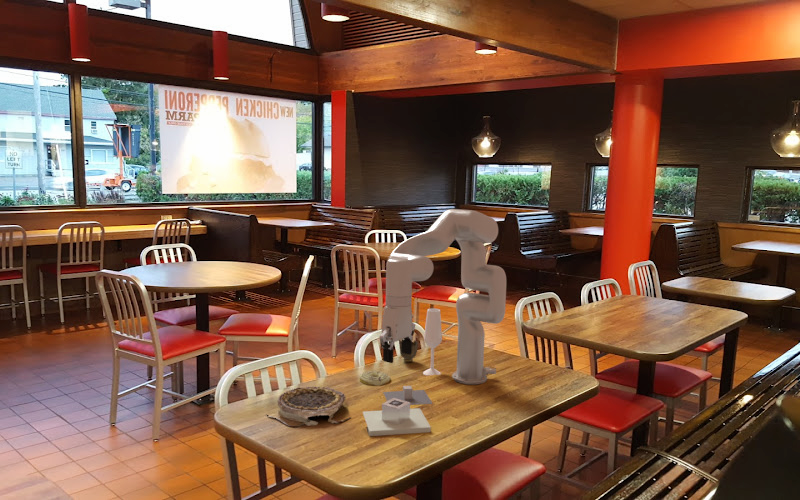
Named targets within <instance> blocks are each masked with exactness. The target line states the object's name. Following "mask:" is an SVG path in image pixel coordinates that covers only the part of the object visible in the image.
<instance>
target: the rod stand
mask: <svg viewBox="0 0 800 500" xmlns="http://www.w3.org/2000/svg"><path fill="white" fill-rule="evenodd" d="M382 393H383V395H384V397H385V400H386V402H387V401H389V400H390V399H392V398H396V399H400V400H403V401H407V402H410V406H415V405H416V406H418V405H432V404H433V402H432V399H430V397H429V396H428V393H426V391H425V389H417V390H416V389H415V390H413V387H412V385H403V386H402V390H398V391H382Z"/></svg>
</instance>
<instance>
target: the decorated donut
mask: <svg viewBox="0 0 800 500" xmlns="http://www.w3.org/2000/svg"><path fill="white" fill-rule="evenodd" d="M390 381H391V376H390V375H389V374H388V373H385V372H382V371H377V370H369V371H365V372H363V373H362V374H360V375H359V382H360V383H362V384H364V385H369V386H376V387H377V386H378V387H379V386H383V385H387V384H388V383H390Z"/></svg>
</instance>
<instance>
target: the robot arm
mask: <svg viewBox="0 0 800 500" xmlns="http://www.w3.org/2000/svg"><path fill="white" fill-rule="evenodd" d="M498 235H499V226H498V223H497V221H496V220H495V219H494V218H493V217H491V216H488V215H486V214H484V213H482V212H479V211H477V210H471V209H470V210H469V209H460V208H459V209H458V208H451V209H447V210H445V211H443V212H442V213H441V215H439V216H438V218H436V220H435V221H434V222H433V223H432V224H431V226H429V228H428V229H427V230H426V231H425V232H421V233H419V234H417V235H414V236H412V237H410V238H408V239H405V240H404V241H402V242H401V243H399V244H398V245H397V246H396V247H395V249H394V250H392V252H391V254H390V255H389V256H388V258H387V260H386V267H385V268H386V269H385V270H386V271H385V306H384V307H383V309H384V310H383V315H382V322H381V334H380V335H379V337H378V338H379V339H378V340H379V341H380V345H381V348H382V349H383V350H382V351H383V352H382V361H383V362H385V363H389V364H393V363H394V349H393V348H394V347H393V346H394V345H395V343H396V342H398V341H399V342H400V341H402V353H405V354H411V353H412V342H413V341H414V334H415V328H416V324H415V323H414V322H413V309H412V305H413V304H412V302H413V301H412V300H413V299H412V296H413V294H412V292H413V291H412V290H413V289H412V288H413V282H424V281H427V280H428V279H429V278H430V277H431V276H432V275H433V272H434V263H433V261H432V260H431V259H430V258H429V257H427V256H433V255H437V254H442V253H443V252H445V251H447V249H448V248H449V247H450V246H451V245H452V243H453V242H454V241H456V242H457V243H458V245H459V248H460V251H461V267H460V268H461V269H460V271H461V272H460V273H461V274H460V278H461V279H460V281H461V284H462V285H461V286H462V287H463V288H465V289H467V290H471V291H478V292H482V293H476V292H464V293H462V294H460V295H459V296H458V297H457V299H456V303H455V308H456V315H457V326H458V327H457V353H456V355H457V356H456V371H454V372H453V373H452V376H451V377H452V379H453V380H454V381H455V382H457V383H459V384H463V385H481V384H484V383H486V382H487V381H488V375H496V374H497V369H496V368H491V367H490V366H487V367H485V366H484V360H485V359H484V357H485V356H484V355H485V353H484V352H485V329H484V326H483V324H482V323H488V324H495V325H496V324H500V323H501V322H502V321H503V319H505V318H504V317H505V316H506V315H505V314H506V306H507V305H506V303H507V275H506V272H505V270H504V268H502V267H501V266H499V265H493V264H487V259H486V257H487V252H486V251H487V249H486V246H485V244H491V243H493V242H494V241H495V240H496V239H497V237H498ZM483 292H484V293H488V294H483ZM389 342H390V343H389Z"/></svg>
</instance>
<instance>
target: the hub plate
mask: <svg viewBox="0 0 800 500" xmlns="http://www.w3.org/2000/svg"><path fill="white" fill-rule="evenodd" d="M392 405H395V406H399V405H400V403H399V402H393V403H392ZM362 415H363V417H364V420H365V424H366V427H365V428H366V431H367V434H368V436H369V437H379V436H391V435H392V436H394V435H405V434H407V435H408V434H420V433H421V434H422V433H424V434H425V433H431V430H432V427H431V425H430V423H429V422H428V420H427V418H426V416H425V415H424V413H423V411H422V409H421V407H418V408H416V407H415V408H410V419H408V420H406V421H405V422H403V423H401V424H400V425H396V424H393V423H390V422H386V421H383V420H382V409H381V410H370V411H369V410H367V411H362Z"/></svg>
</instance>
